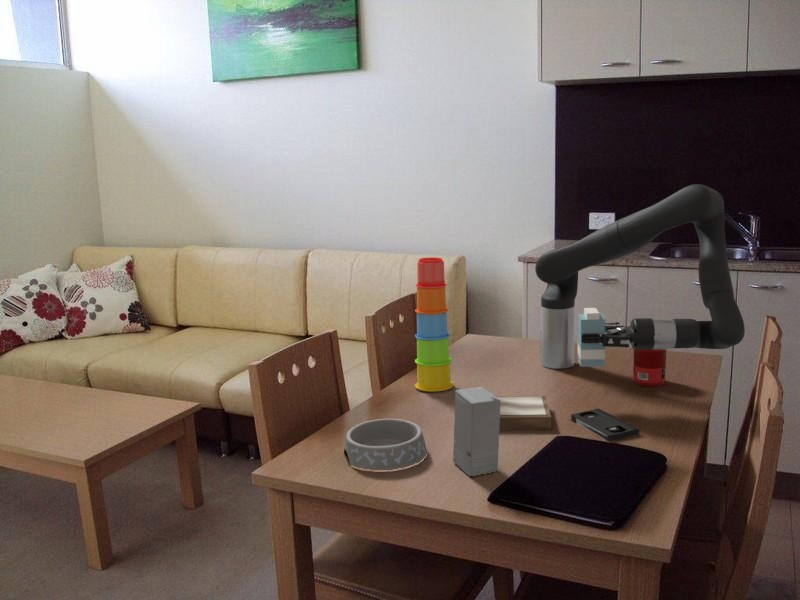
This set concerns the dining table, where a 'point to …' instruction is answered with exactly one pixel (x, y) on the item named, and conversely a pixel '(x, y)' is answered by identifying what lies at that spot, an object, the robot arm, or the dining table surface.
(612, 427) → the vhs tape
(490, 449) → the skincare box
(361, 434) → the dog bowl
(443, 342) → the stacking cups
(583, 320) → the carton
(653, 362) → the canned food
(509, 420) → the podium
